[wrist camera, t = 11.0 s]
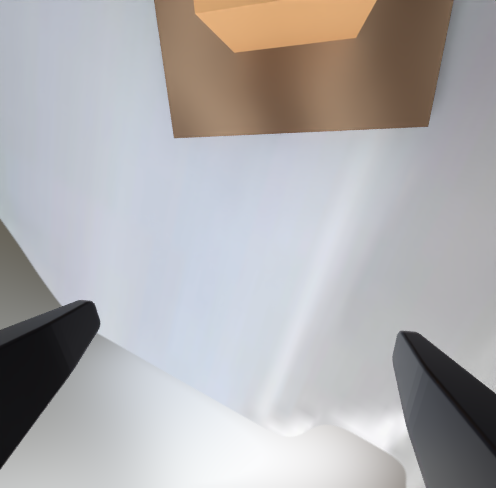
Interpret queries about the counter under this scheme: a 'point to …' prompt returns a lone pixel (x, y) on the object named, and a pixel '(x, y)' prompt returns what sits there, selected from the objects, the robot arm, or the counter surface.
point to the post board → (304, 74)
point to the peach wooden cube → (282, 21)
